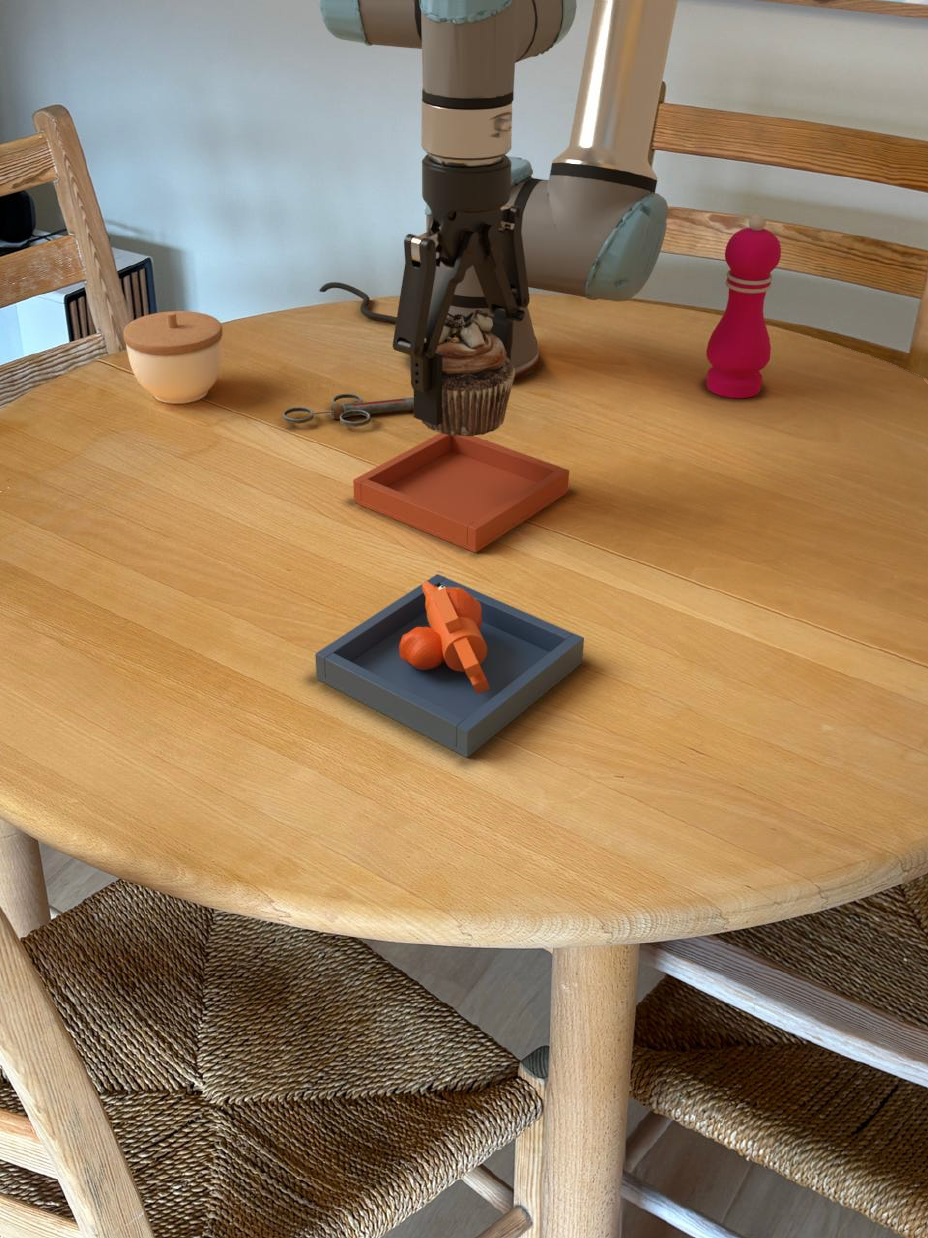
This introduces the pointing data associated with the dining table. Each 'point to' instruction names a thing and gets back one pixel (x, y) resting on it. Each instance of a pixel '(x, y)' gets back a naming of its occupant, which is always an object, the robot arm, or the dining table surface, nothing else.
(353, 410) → the syringe
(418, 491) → the terracotta tray
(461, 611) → the orange toy bird
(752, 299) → the pepper mill
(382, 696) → the blue tray
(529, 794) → the dining table surface
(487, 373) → the cupcake
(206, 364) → the trinket box
